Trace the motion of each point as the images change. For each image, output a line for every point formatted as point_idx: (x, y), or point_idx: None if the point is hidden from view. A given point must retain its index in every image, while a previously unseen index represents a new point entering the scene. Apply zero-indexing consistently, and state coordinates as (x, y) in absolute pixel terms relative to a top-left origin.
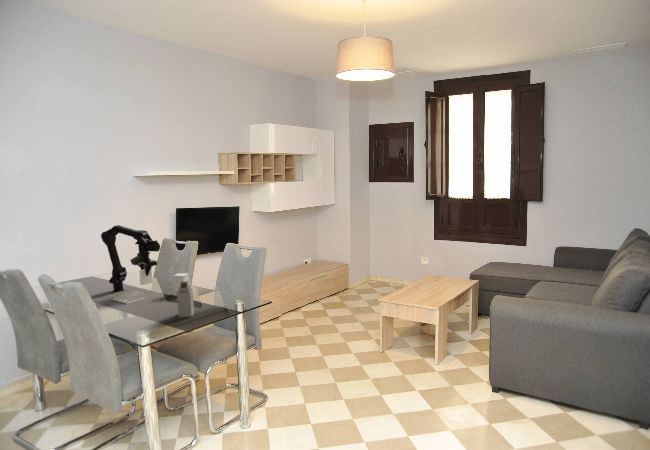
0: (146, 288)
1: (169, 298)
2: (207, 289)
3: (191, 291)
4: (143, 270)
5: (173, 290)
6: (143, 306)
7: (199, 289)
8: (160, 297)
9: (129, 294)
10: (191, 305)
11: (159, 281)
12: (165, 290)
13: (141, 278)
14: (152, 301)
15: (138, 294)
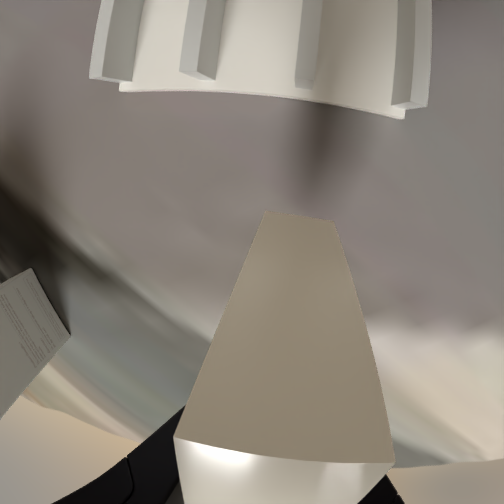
0: (420, 346)
1: (8, 211)
2: (43, 402)
3: None
4: (184, 485)
5: (5, 285)
6: (16, 6)
7: (63, 401)
8: (59, 195)
9: None
10: None
11: (425, 457)
12: (201, 359)
13: (276, 260)
14: (32, 93)
15: (103, 13)
